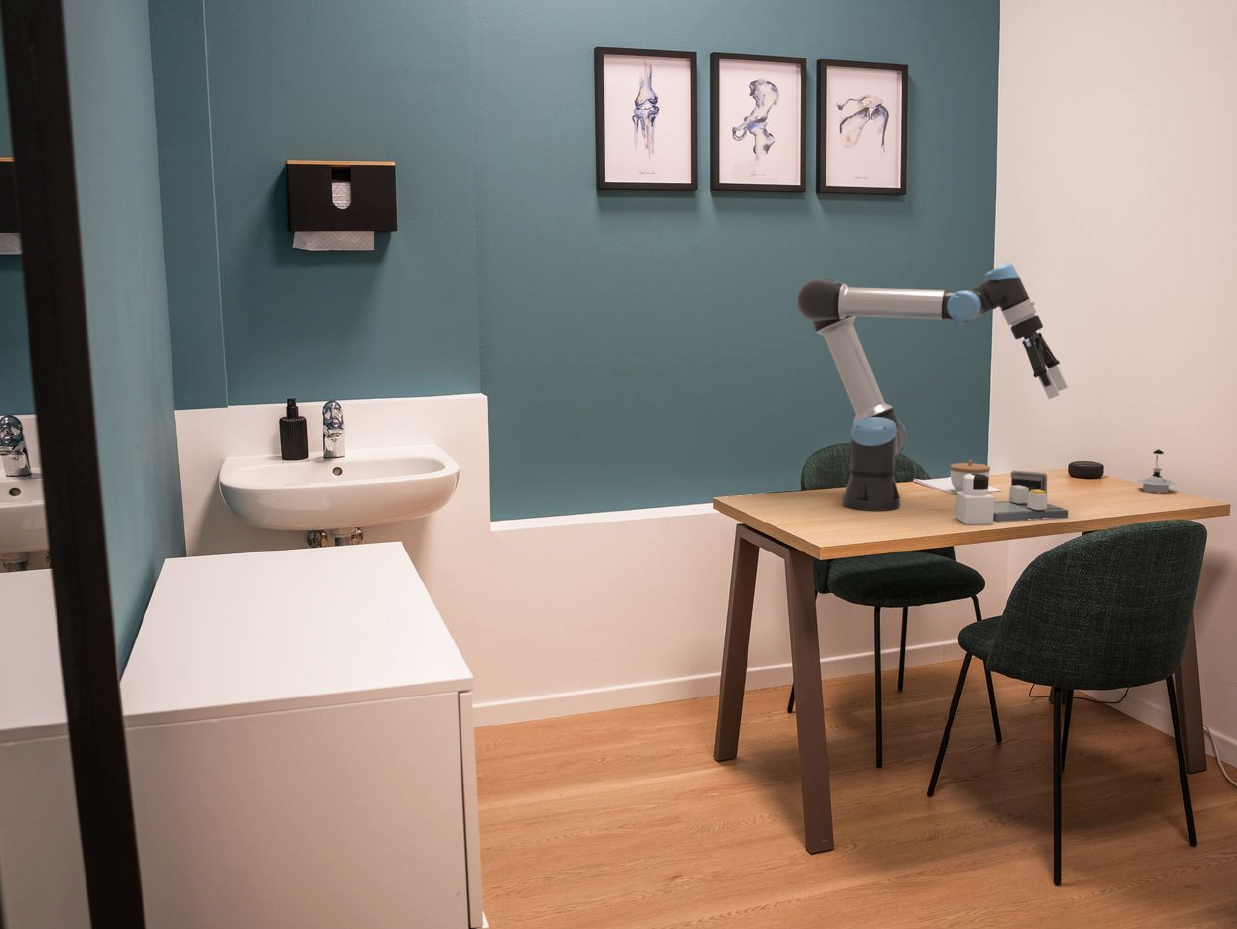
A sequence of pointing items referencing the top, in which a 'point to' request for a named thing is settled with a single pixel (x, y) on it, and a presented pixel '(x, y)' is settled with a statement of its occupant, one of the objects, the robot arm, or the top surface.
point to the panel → (1024, 512)
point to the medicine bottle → (975, 501)
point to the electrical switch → (1029, 480)
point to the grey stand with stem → (1156, 480)
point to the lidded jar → (966, 472)
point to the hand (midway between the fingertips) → (1059, 393)
